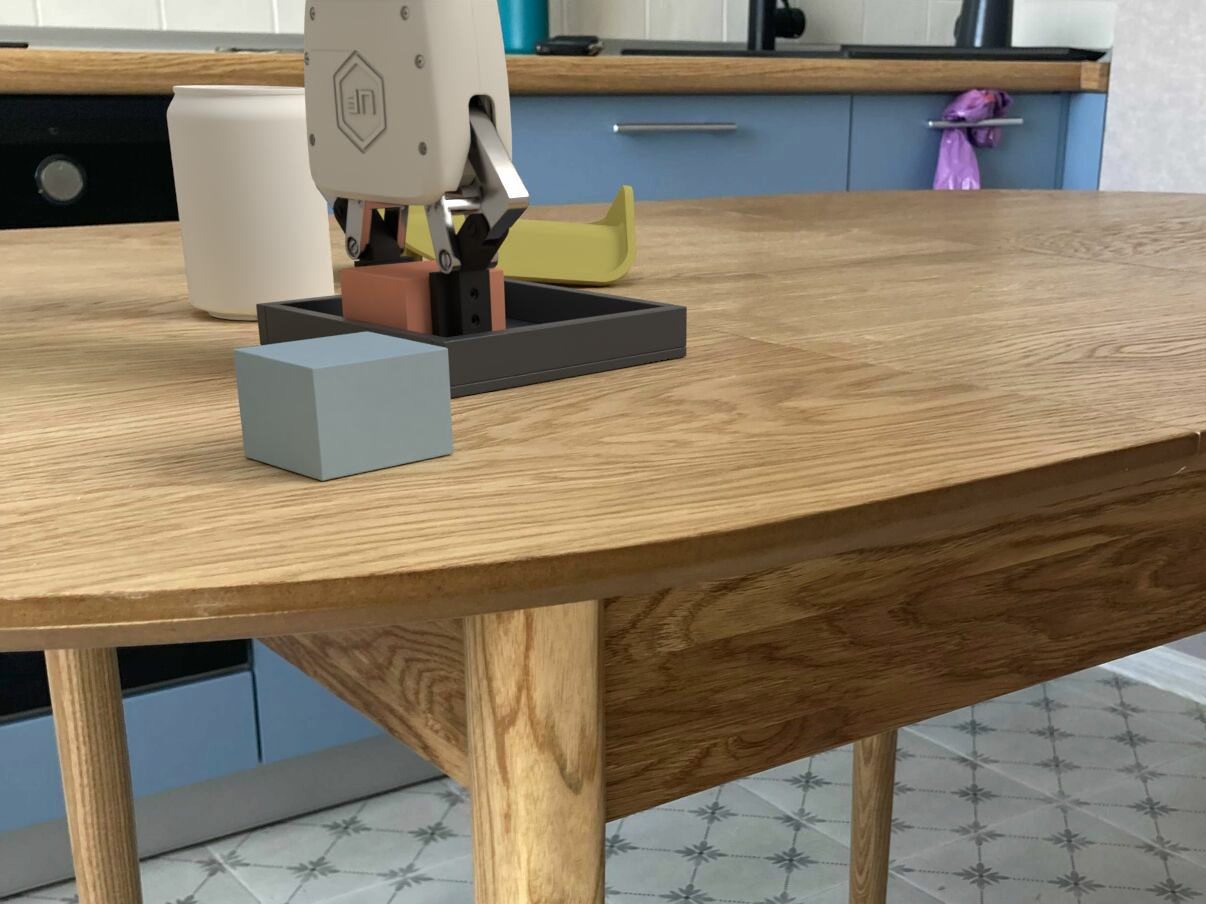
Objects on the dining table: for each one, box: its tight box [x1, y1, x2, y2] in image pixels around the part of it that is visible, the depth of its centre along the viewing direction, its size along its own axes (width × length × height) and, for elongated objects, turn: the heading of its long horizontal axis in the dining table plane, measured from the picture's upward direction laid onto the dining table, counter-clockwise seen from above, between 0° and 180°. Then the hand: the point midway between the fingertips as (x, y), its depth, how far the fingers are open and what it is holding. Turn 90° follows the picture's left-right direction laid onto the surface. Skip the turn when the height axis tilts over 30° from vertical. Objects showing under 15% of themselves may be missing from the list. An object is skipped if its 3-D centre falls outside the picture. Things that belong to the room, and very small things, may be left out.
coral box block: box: [339, 260, 506, 335], centre depth 75 cm, size 5×6×4 cm
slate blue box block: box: [232, 331, 454, 482], centre depth 58 cm, size 5×6×4 cm
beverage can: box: [166, 84, 336, 321], centre depth 87 cm, size 8×8×12 cm
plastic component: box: [377, 184, 638, 287], centre depth 104 cm, size 20×7×10 cm
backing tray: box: [256, 278, 688, 399], centre depth 78 cm, size 15×16×2 cm
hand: (426, 345), depth 75 cm, fingers closed on coral box block, 4 cm apart
